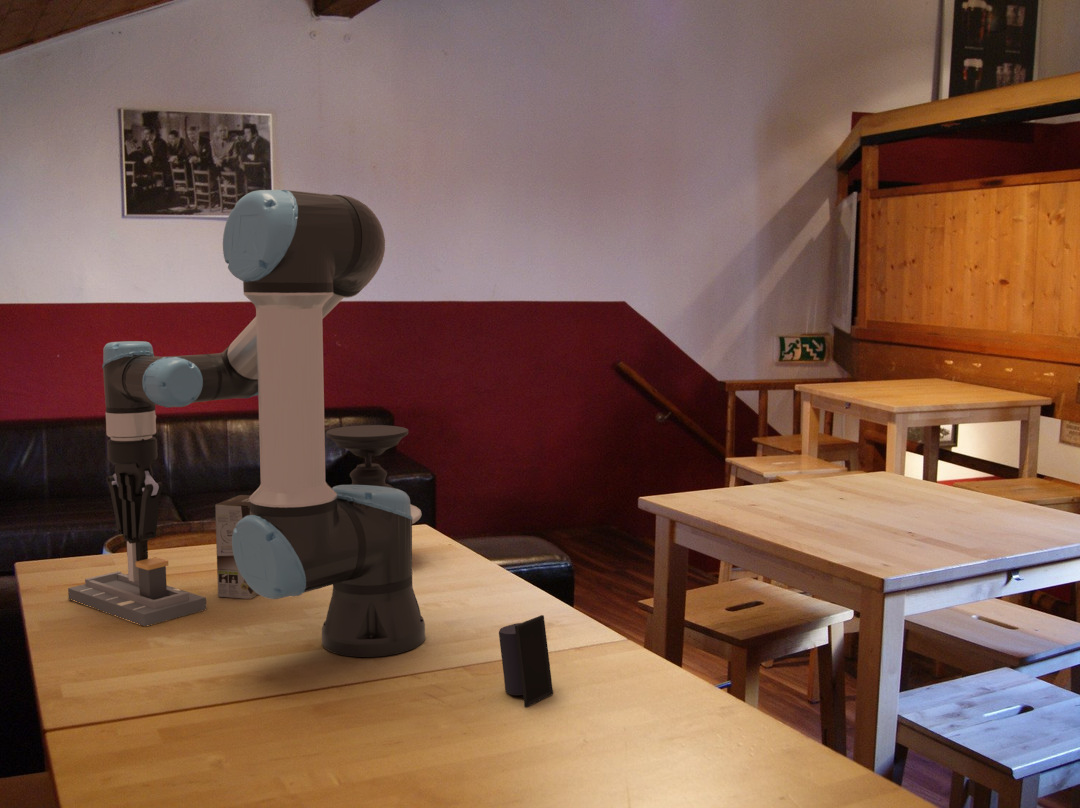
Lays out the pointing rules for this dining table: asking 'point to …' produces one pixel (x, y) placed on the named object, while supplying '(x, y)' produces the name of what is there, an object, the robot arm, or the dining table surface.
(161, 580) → the fader tab
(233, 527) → the coffee box
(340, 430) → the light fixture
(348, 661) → the dining table surface
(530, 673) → the speaker
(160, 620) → the console board
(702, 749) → the dining table surface
